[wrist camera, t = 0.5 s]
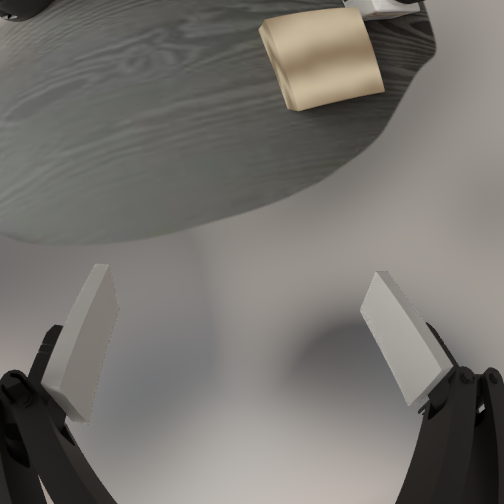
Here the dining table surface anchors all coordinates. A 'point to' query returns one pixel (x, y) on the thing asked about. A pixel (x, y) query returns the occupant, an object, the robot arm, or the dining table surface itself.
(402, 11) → the container
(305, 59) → the maple block
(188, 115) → the dining table surface
